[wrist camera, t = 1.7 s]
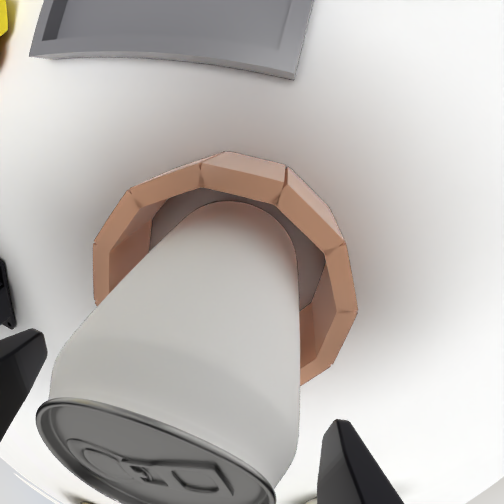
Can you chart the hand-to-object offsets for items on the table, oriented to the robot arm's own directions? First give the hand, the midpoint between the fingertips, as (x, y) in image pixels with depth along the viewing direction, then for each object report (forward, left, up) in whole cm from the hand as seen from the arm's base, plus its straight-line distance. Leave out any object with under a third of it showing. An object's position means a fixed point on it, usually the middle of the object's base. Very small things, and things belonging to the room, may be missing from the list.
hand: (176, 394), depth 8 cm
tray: (-6, +16, -9) cm, 19 cm away
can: (0, 0, -9) cm, 9 cm away
